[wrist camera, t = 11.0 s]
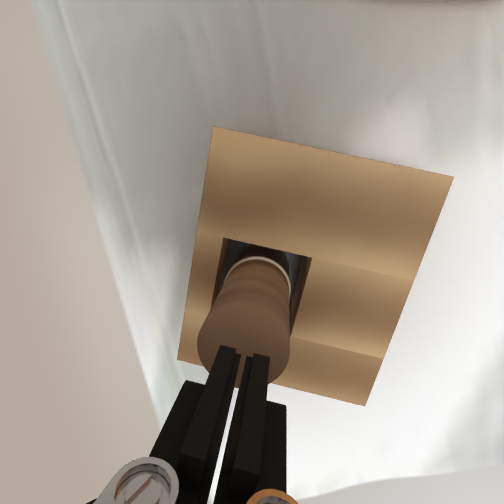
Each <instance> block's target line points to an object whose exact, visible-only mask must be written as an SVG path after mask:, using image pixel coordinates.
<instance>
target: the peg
mask: <svg viewBox="0 0 504 504" xmlns="http://www.w3.org/2000/svg"><path fill="white" fill-rule="evenodd" d="M290 294H291V284H290V279H289V263H288V259H287V256H286V255H285V253H284V252H283V251H281V250H277V249H272V248H268V247H263V246H259V245H255V244H249V245H248V246H246V247H245V248H244V249H243V250H242V251H241V253H240V255H239V257H238V259H237V260H236V262H235V264H234V265H233V266H232V267H231V269H230V270H229V272H228V274H227V276H226V278H225V282H224V285H223V287H222V289H221V291H220V293H219V294H218V296H217V298H216V300H215V302H214V304H213V306H212V308H211V310H210V311H209V313H208V315H207V317H206V319H205V321H204V323H203V325H202V327H201V329H200V331H199V334H198V338H197V351H198V355H199V358H200V360H201V362H202V364H203V366H204V367H205V369H206V370H207V371H208V372H209V373H210V371H211V368H212V365H213V363H214V360H215V357H216V355H217V352H218V349H219V347H220V345H224V346H228V347H232V348H236V353H237V354H241V359H240V363H239V368H238V372H237V377H236V381H235V385H234V387H236V388H239V386H240V382H241V378H242V373H243V369H244V365H245V360H246V356H250V357H253V354H254V353H257V354H261V355H265V356H269V357H270V363H269V375H268V384H269V383H271V382H273V381H274V380H276V379H277V378H278V377H279V376H280V375H281V374H282V373H283V371H284V370H285V368H286V366H287V364H288V361H289V357H290V317H289V299H290Z"/></svg>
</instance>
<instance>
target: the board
mask: <svg viewBox="0 0 504 504" xmlns="http://www.w3.org/2000/svg"><path fill="white" fill-rule="evenodd" d="M453 179H454V177H452V176H447V175H443V174H438V173H433V172H428V171H424V170H419V169H414V168H409V167H405V166H400V165H395V164H390V163H385V162H381V161H376V160H371V159H366V158H362V157H357V156H352V155H347V154H343V153H338V152H333V151H328V150H323V149H319V148H314V147H309V146H304V145H300V144H295V143H290V142H285V141H281V140H276V139H271V138H266V137H261V136H257V135H252V134H247V133H242V132H238V131H233V130H228V129H223V128H219V127H214V126H213V130H212V136H211V143H210V149H209V156H208V162H207V169H206V175H205V182H204V188H203V195H202V201H201V208H200V214H199V221H198V227H197V234H196V240H195V247H194V253H193V260H192V266H191V273H190V279H189V286H188V292H187V299H186V305H185V312H184V318H183V325H182V331H181V338H180V344H179V351H178V357H177V360H181V361H185V362H189V363H193V364H197V365H201V366H203V364H202V362H201V360H200V358H199V355H198V351H197V338H198V334H199V331H200V329H201V327H202V325H203V323H204V321H205V319H206V317H207V315H208V313H209V311H210V310H211V308H212V306H213V304H214V302H215V300H216V298H217V296H218V294H219V293H220V291H221V289H222V287H223V284H224V279H225V274H226V268H227V263H228V258H229V253H230V247H231V242H232V240H237V241H241V242H246V243H250V244H255V245H259V246H263V247H268V248H272V249H277V250H281V251H285V252H290V253H294V254H299V255H303V260H302V264H301V267H300V271H299V275H298V279H297V282H296V286H295V290H294V294H293V297H292V301H291V305H290V306H289V317H290V357H289V361H288V364H287V366H286V368H285V370H284V371H283V373H282V374H281V375H280V376H279V377H278V378H277V379H276V380H274V381H273V382H271V383H273V384H277V385H281V386H285V387H289V388H293V389H297V390H301V391H305V392H309V393H313V394H317V395H321V396H326V397H330V398H334V399H338V400H342V401H346V402H350V403H354V404H358V405H362V406H365V405H366V402H367V400H368V397H369V395H370V392H371V389H372V387H373V384H374V382H375V379H376V377H377V374H378V371H379V369H380V366H381V364H382V361H383V359H384V356H385V353H386V351H387V348H388V346H389V343H390V341H391V338H392V335H393V333H394V330H395V328H396V325H397V323H398V320H399V318H400V315H401V312H402V310H403V307H404V305H405V302H406V300H407V297H408V294H409V292H410V289H411V287H412V284H413V282H414V279H415V276H416V274H417V271H418V269H419V266H420V264H421V261H422V258H423V256H424V253H425V251H426V248H427V246H428V243H429V240H430V238H431V235H432V233H433V230H434V228H435V225H436V222H437V220H438V217H439V215H440V212H441V210H442V207H443V204H444V202H445V199H446V197H447V194H448V192H449V189H450V186H451V184H452V181H453Z"/></svg>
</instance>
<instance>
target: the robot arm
mask: <svg viewBox="0 0 504 504" xmlns="http://www.w3.org/2000/svg"><path fill="white" fill-rule="evenodd" d="M240 359H241V354H237V353H236V348H232V347H228V346H224V345H220V347H219V349H218V352H217V355H216V357H215V360H214V363H213V365H212V368H211V371H210V373H209V376H208V379H207V381H206V384H205V385H203V384H199V383H195V382H191V381H188V380H186V381H185V382H184V384H183V386H182V388H181V390H180V392H179V394H178V396H177V399H176V401H175V403H174V405H173V407H172V409H171V411H170V413H169V415H168V417H167V419H166V422H165V424H164V426H163V428H162V430H161V432H160V434H159V437H158V438H157V440H156V443H155V445H154V447H153V449H152V451H151V453H150V455H149V457H142V458H139V459H136V460H133V461H131V462H129V463H128V464H126V465H124V466H123V467H122V468H121V469H120V470H119V471H118V472H117V473H116V474H115V475H114V476H113V478H112V479H111V481H110V482H109V483H108V485H107V486H106V487H105V489H104V490H103V491H102V493H101V494H100V495H99V497H98V498H97V499H94V500H92V501H90V502H89V503H86V504H207V501H208V497H209V493H210V488H211V484H212V480H213V476H214V471H215V467H216V463H217V459H218V455H219V450H220V446H221V442H222V438H223V434H224V429H225V425H226V421H227V416H228V412H229V407H230V403H231V399H232V394H233V390H234V385H235V381H236V377H237V372H238V368H239V363H240ZM269 363H270V357H269V356H265V355H261V354H257V353H254V354H253V357H250V356H246V360H245V365H244V369H243V373H242V378H241V382H240V386H239V391H238V395H237V399H236V404H235V408H234V412H233V416H232V421H231V425H230V430H229V434H228V439H227V443H226V448H225V453H224V457H223V462H222V466H221V471H220V475H219V480H218V485H217V489H216V494H215V498H214V503H213V504H298V503H297V502H296V501H295V500H294V499H293V498H292V497H291V496H289V495H288V494H286V405H282V404H279V403H275V402H271V401H267V400H266V398H267V386H268V375H269Z"/></svg>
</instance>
